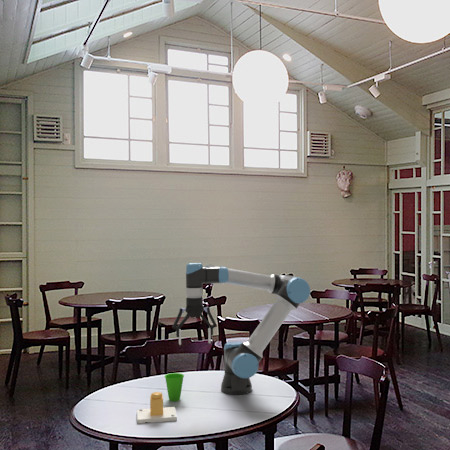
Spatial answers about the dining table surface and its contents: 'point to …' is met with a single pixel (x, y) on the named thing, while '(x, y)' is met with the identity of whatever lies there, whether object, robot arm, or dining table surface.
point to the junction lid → (145, 415)
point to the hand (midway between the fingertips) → (194, 343)
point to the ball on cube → (156, 404)
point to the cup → (174, 385)
